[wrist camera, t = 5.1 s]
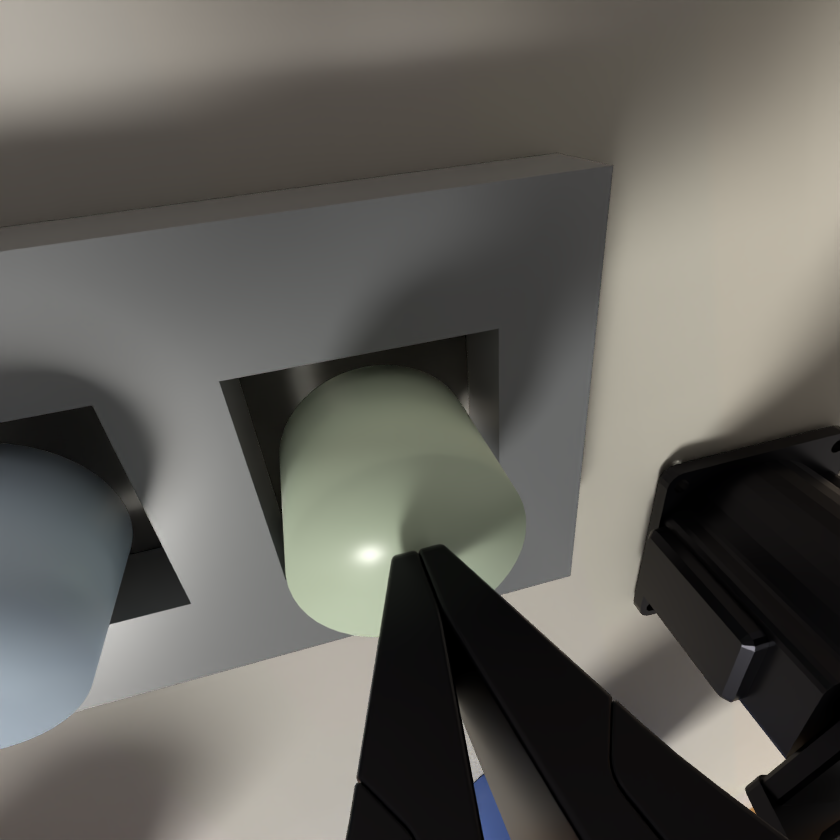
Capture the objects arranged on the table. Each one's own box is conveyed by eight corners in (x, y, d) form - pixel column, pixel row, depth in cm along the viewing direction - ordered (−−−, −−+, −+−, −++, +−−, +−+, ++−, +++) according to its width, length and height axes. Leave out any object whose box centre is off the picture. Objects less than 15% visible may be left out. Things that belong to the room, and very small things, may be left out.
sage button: (465, 347, 10) (529, 428, 8) (472, 500, 13) (523, 602, 10) (256, 387, 10) (255, 489, 7) (302, 542, 12) (312, 661, 9)
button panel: (557, 152, 10) (613, 165, 9) (538, 525, 16) (570, 575, 14) (-1154, 382, 7) (-1626, 480, 5) (-402, 765, 12) (-507, 873, 10)
